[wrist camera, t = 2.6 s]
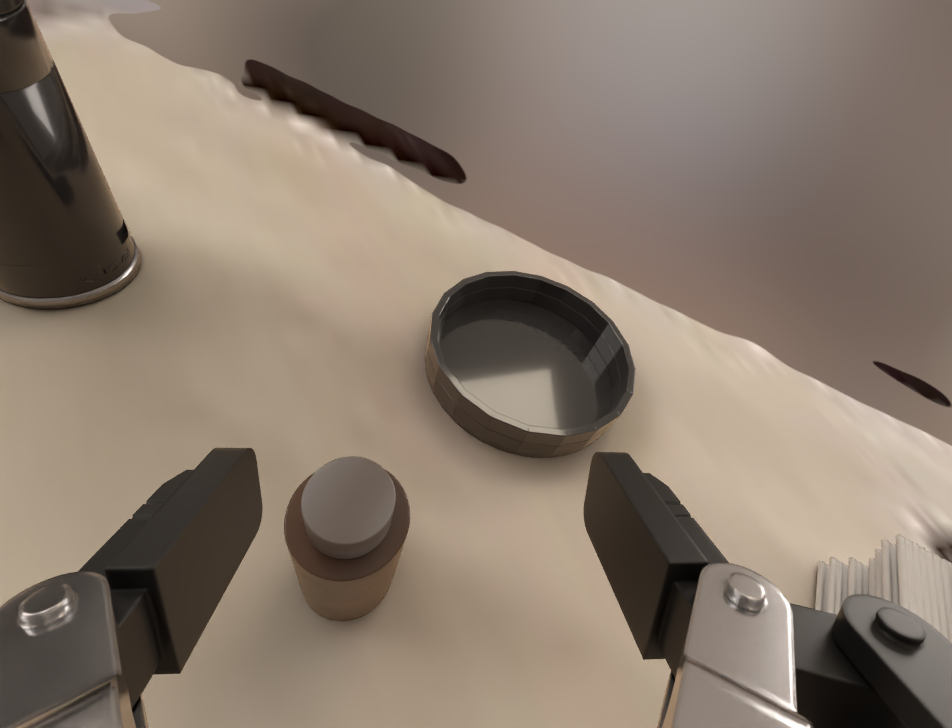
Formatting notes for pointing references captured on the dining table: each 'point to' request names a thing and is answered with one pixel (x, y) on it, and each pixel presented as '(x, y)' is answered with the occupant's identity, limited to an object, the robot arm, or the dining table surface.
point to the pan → (527, 364)
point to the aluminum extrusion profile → (892, 582)
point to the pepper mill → (346, 536)
